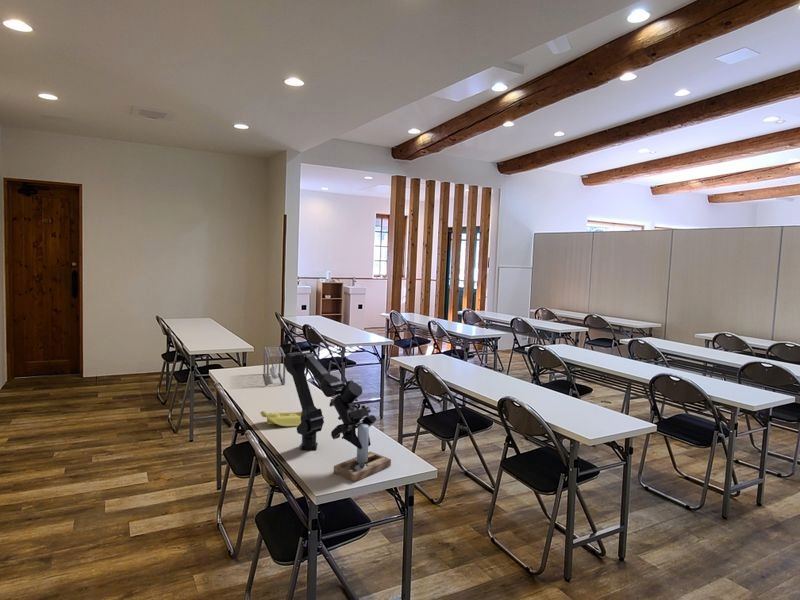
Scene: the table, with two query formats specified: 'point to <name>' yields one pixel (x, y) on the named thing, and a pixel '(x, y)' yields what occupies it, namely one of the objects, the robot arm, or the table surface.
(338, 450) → the table surface
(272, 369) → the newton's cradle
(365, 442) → the slate peg
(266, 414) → the banana
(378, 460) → the keyhole block
